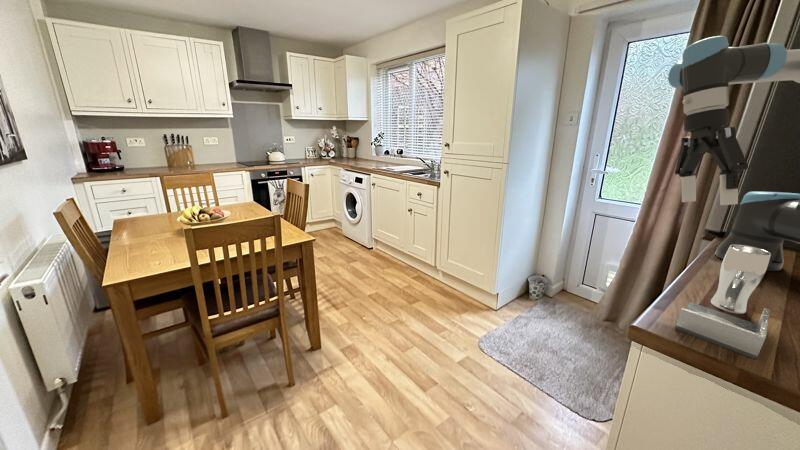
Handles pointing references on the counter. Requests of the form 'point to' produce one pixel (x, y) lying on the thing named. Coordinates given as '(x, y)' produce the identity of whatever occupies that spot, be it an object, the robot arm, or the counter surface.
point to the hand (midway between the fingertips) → (707, 203)
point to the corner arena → (724, 329)
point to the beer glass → (739, 277)
